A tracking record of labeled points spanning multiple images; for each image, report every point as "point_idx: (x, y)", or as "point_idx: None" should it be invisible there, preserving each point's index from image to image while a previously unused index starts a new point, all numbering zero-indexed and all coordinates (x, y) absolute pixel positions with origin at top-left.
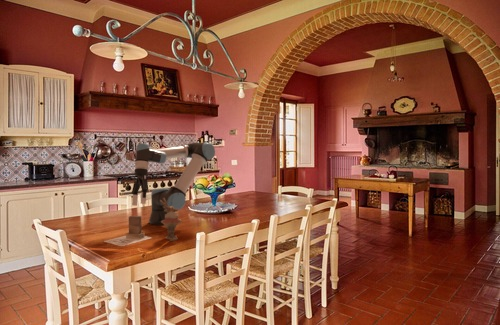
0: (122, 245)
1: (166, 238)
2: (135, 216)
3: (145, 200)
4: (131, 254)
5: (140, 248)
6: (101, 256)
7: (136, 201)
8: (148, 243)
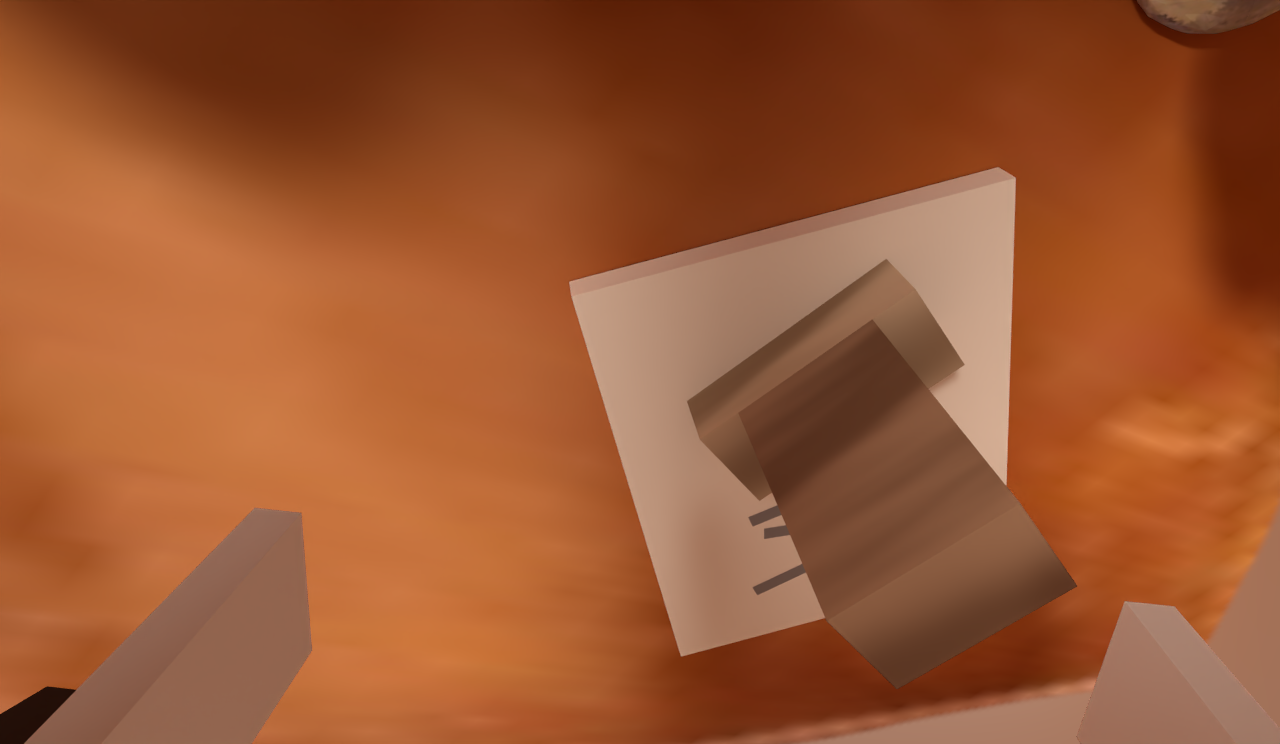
0: None
1: (1235, 18)
2: (964, 599)
3: (1242, 707)
4: (1212, 532)
5: (1149, 419)
6: (1033, 696)
7: (221, 637)
8: (1079, 282)
